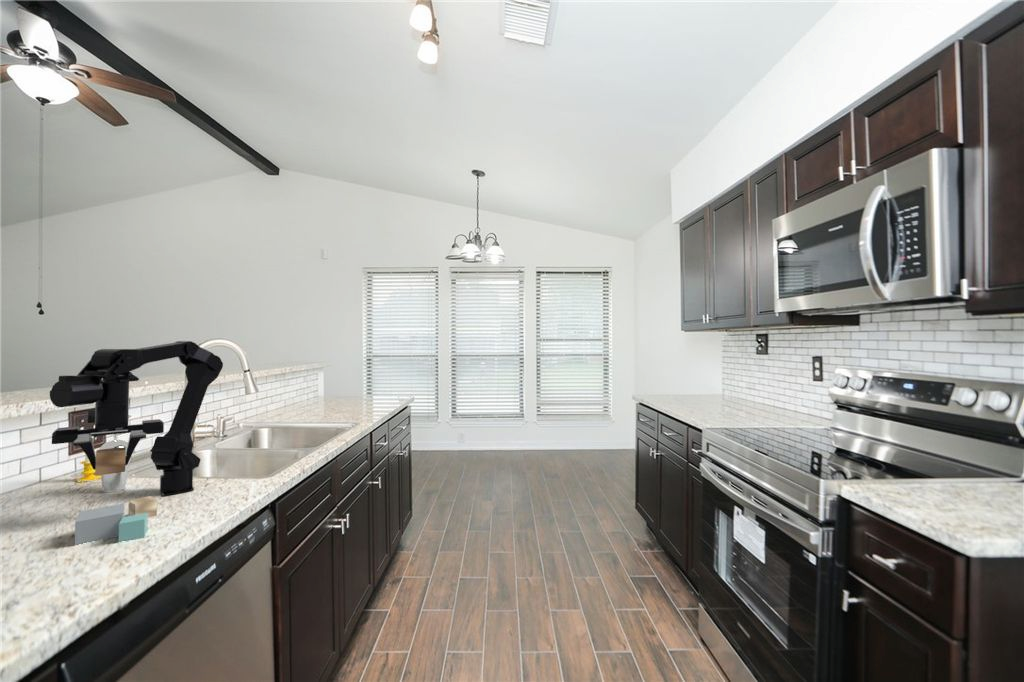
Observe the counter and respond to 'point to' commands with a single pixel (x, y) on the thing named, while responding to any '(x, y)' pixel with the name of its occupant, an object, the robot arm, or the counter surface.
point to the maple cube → (143, 506)
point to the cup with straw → (116, 479)
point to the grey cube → (98, 523)
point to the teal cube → (133, 527)
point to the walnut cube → (110, 461)
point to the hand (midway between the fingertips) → (110, 466)
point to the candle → (88, 471)
